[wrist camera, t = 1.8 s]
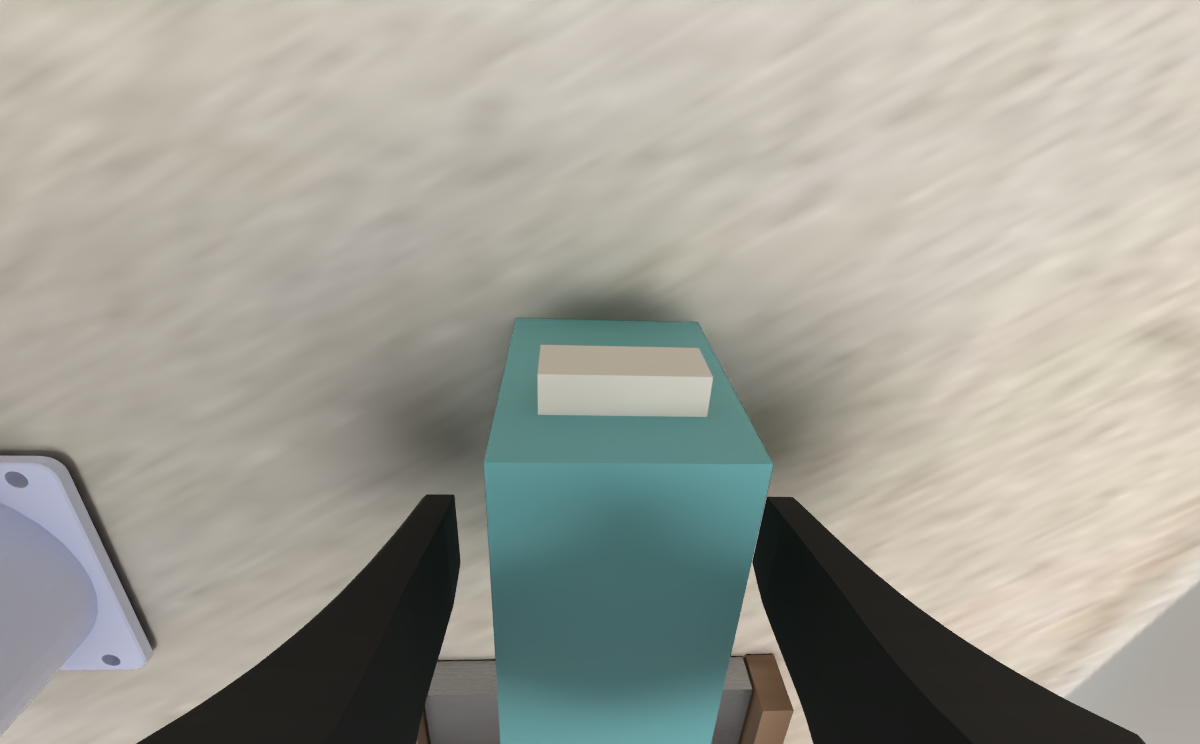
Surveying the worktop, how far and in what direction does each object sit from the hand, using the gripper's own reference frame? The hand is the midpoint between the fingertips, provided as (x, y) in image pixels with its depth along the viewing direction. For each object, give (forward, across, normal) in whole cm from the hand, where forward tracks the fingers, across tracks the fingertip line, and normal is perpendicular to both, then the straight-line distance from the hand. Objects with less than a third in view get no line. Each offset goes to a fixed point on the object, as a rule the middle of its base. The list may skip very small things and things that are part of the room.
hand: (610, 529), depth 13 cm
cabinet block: (+3, 0, 0) cm, 3 cm away
